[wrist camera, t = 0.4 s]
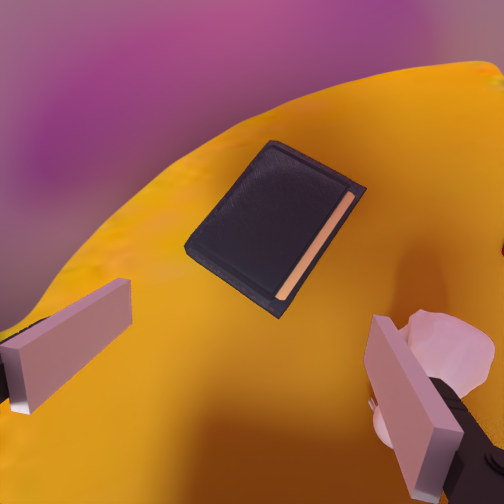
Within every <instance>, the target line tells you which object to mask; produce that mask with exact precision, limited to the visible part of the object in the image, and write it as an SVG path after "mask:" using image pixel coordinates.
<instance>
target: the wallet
mask: <svg viewBox="0 0 504 504" xmlns="http://www.w3.org/2000/svg"><path fill="white" fill-rule="evenodd" d="M366 189H367V188H365V187H363V186H361V185H359V184H357V183H355V182H354V181H352V180H351V179H349V178H347V177H346V176H344V175H342V174H340V173H338V172H337V171H335V170H333V169H331V168H329V167H327V166H325V165H323V164H321V163H320V162H318V161H316V160H314V159H312V158H310V157H308V156H306V155H304V154H303V153H301V152H299V151H297V150H295V149H293V148H291V147H289V146H287V145H285V144H283V143H281V142H279V141H272V140H270V141H269V142H268V143H267V144H266V145H265V146H264V147H263V148H262V150H261V151H260V152H259V153H258V154H257V156H256V157H255V158H254V159H253V161H252V162H251V163H250V164H249V166H248V167H247V168H246V169H245V171H244V172H243V173H242V174H241V176H240V177H239V178H238V179H237V181H236V182H235V183H234V185H233V186H232V187H231V188H230V190H229V191H228V192H227V193H226V194H225V196H224V197H223V198H222V199H221V200H220V202H219V203H218V204H217V205H216V206H215V207H214V209H213V210H212V211H211V212H210V213H209V215H208V216H207V217H206V218H205V219H204V221H203V222H202V223H201V224H200V225H199V226H198V227H197V229H196V230H195V231H194V232H193V233H192V234H191V236H190V237H189V239H188V240H187V242H186V243H185V245H184V248H185V251H186V254H187V255H188V256H190V257H191V258H192V259H194V260H195V261H196V262H197V263H199V264H200V265H202V266H203V267H205V268H206V269H208V270H209V271H211V272H212V273H213V274H215V275H216V276H218V277H219V278H221V279H222V280H224V281H225V282H227V283H228V284H230V285H231V286H232V287H234V288H235V289H236V290H238V291H239V292H241V293H242V294H243V295H245V296H246V297H247V298H249V299H250V300H252V301H253V302H254V303H256V304H257V305H259V306H260V307H262V308H263V309H265V310H266V311H268V312H269V313H270V314H272V315H273V316H275V317H276V318H278V319H279V318H280V317H281V316H282V315H283V313H284V312H285V311H286V309H287V308H288V307H289V305H290V304H291V302H292V300H293V299H294V297H295V296H296V294H297V292H298V291H299V289H300V287H301V286H302V284H303V283H304V281H305V280H306V278H307V277H308V275H309V274H310V272H311V271H312V269H313V268H314V267H315V265H316V264H317V262H318V261H319V259H320V258H321V256H322V255H323V253H324V252H325V250H326V249H327V247H328V246H329V244H330V243H331V241H332V240H333V238H334V237H335V235H336V234H337V232H338V231H339V229H340V228H341V226H342V225H343V223H344V222H345V220H346V219H347V217H348V216H349V215H350V213H351V212H352V210H353V209H354V207H355V206H356V204H357V203H358V201H359V200H360V198H361V197H362V195H363V194H364V192H365V191H366Z"/></svg>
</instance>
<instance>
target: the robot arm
mask: <svg viewBox="0 0 504 504" xmlns="http://www.w3.org/2000/svg"><path fill="white" fill-rule="evenodd" d="M131 324H132V305H131V280H128V279H121V278H117V279H115V280H114V281H112V282H110V283H108V284H107V285H105V286H103V287H101V288H100V289H98V290H96V291H94V292H93V293H91V294H89V295H87V296H86V297H84V298H82V299H80V300H79V301H77V302H75V303H73V304H71V305H70V306H68V307H66V308H64V309H63V310H61V311H59V312H57V313H56V314H54V315H52V316H49V317H47V318H44V319H41V320H39V321H37V322H35V323H33V324H31V325H30V326H29V327H28V328H27V327H26V328H24V329H23V330H21V331H19V333H15V334H14V335H12V336H10V337H8V338H6V339H5V340H3V341H1V342H0V404H1V403H2V402H3V401H5V400H6V399H7V398H9V400H10V406H11V411H15V412H20V413H24V414H29V415H30V414H31V413H32V412H33V411H35V410H36V409H37V408H38V407H39V406H40V405H41V404H42V403H44V402H45V401H46V400H47V399H48V398H49V397H50V396H51V395H53V394H54V393H55V392H56V391H57V390H58V389H59V388H60V387H62V386H63V385H64V384H65V383H66V382H67V381H68V380H69V379H71V378H72V377H73V376H74V375H75V374H76V373H77V372H78V371H79V370H81V369H82V368H83V367H84V366H85V365H86V364H87V363H88V362H90V361H91V360H92V359H93V358H94V357H95V356H96V355H97V354H99V353H100V352H101V351H102V350H103V349H104V348H105V347H106V346H108V345H109V344H110V343H111V342H112V341H113V340H114V339H115V338H117V337H118V336H119V335H120V334H121V333H122V332H123V331H124V330H126V329H127V328H128V327H129V326H130V325H131ZM363 363H364V365H365V368H366V371H367V374H368V377H369V380H370V383H371V386H372V388H373V391H374V394H375V397H376V400H377V403H378V406H379V408H380V411H381V414H382V417H383V420H384V423H385V426H386V428H387V431H388V434H389V437H390V440H391V443H392V446H393V449H394V451H395V454H396V457H397V460H398V463H399V466H400V469H401V471H402V474H403V477H404V480H405V483H406V486H407V489H408V492H409V494H410V497H411V499H415V500H420V501H424V502H429V503H433V504H438V503H439V500H440V497H441V495H442V492H443V490H444V492H445V494H446V496H447V499H448V501H449V502H448V504H504V450H503V449H500V448H498V447H496V446H494V445H493V444H492V442H491V441H490V440H489V438H488V437H487V435H486V434H485V433H484V431H483V430H482V429H481V427H480V426H479V424H478V423H477V422H476V420H475V419H474V417H473V416H472V415H471V413H470V412H468V409H467V408H466V406H465V405H464V404H463V403H462V402H461V400H460V398H459V397H458V395H457V394H456V393H455V391H454V390H453V389H452V388H451V387H450V386H449V385H447V384H446V383H445V382H444V381H443V380H441V379H440V378H434V377H428V376H427V374H426V373H425V371H424V370H423V368H422V366H421V365H420V363H419V362H418V360H417V359H416V357H415V356H414V354H413V353H412V351H411V349H410V348H409V346H408V345H407V343H406V342H405V340H404V339H403V337H402V336H401V334H400V332H399V331H398V329H397V328H396V326H395V325H394V323H393V322H392V320H391V318H390V317H388V316H381V315H374V314H373V318H372V323H371V328H370V332H369V337H368V341H367V346H366V350H365V355H364V359H363Z"/></svg>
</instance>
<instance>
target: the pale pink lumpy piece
mask: <svg viewBox="0 0 504 504" xmlns="http://www.w3.org/2000/svg"><path fill="white" fill-rule="evenodd" d="M398 331H399V332H400V334H401V336H402V337H403V339H404V340H405V342H406V343H407V345H408V346H409V348H410V349H411V351H412V353H413V354H414V356H415V357H416V359H417V360H418V362H419V363H420V365H421V366H422V368H423V370H424V371H425V373H426V374H427V376H428V377H434V378H440V379H441V380H443V381H444V382H445V383H446V384H447V385H449V386H450V387H451V388H452V389H453V390H454V391H455V393H456V394H457V395H458V397H459V398H462V397H464V396H466V395H467V394H468V393H469V392H470V391H471V390H473V389H474V388H476V387H477V386H479V385H481V384H482V383H484V382H485V381H486V379H487V376H488V374H489V370H490V365H491V363H492V361H493V359H494V355H495V346H494V343H493V341H492V340H491V339H490V338H489V337H488V336H487V335H486V334H485V333H484V332H482V331H480V330H479V329H477V328H475V327H473V326H471V325H470V324H468V323H466V322H464V321H462V320H460V319H458V318H456V317H453V316H450V315H448V314H445V313H434V312H427V311H425V310H422V309H419V310H418V311H417V312H416V313H414V314H412V315H411V316H410V317H409V321H408V324H406V325H405V326H404V327H403V328H401V329H400V330H398ZM371 400H372V403H373V405H374V406H373V405H372V404H371V402H370V401H368V403H369V402H370V403H369V405H370V407H371V409H372V411H373V412H374V415H373V425H374V429H375V431H376V434H377V435H378V437H379V438H380V439H381V441H382V442H383V443H384V444H385V445H387V446H388V447H390V448H392V449H393V446H392V443H391V440H390V437H389V434H388V431H387V428H386V426H385V423H384V420H383V417H382V414H381V411H380V408H379V406H375V403H374V401H373V399H372V398H371ZM375 402H376V401H375ZM376 403H377V402H376Z"/></svg>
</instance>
